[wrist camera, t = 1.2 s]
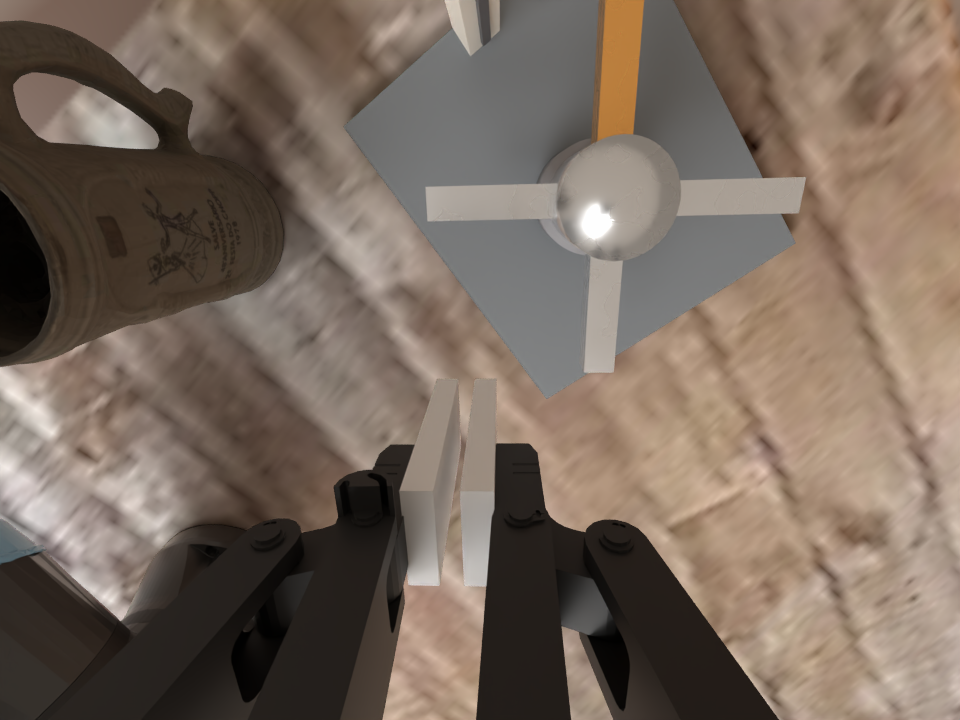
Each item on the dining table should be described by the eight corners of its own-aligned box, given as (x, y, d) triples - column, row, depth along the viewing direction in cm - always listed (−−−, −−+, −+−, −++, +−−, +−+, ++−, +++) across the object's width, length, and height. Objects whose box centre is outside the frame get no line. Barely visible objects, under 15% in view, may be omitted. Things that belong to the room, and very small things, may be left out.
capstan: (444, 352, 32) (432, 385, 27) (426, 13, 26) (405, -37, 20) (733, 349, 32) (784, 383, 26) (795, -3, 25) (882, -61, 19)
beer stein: (297, 301, 39) (97, 373, 19) (174, 305, 39) (-139, 380, 20) (266, 96, 34) (-28, -69, 15) (129, 104, 35) (-324, -46, 16)
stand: (545, 392, 41) (565, 482, 28) (349, 129, 34) (260, 92, 21) (784, 241, 35) (942, 268, 23) (608, -103, 29) (693, -334, 16)
